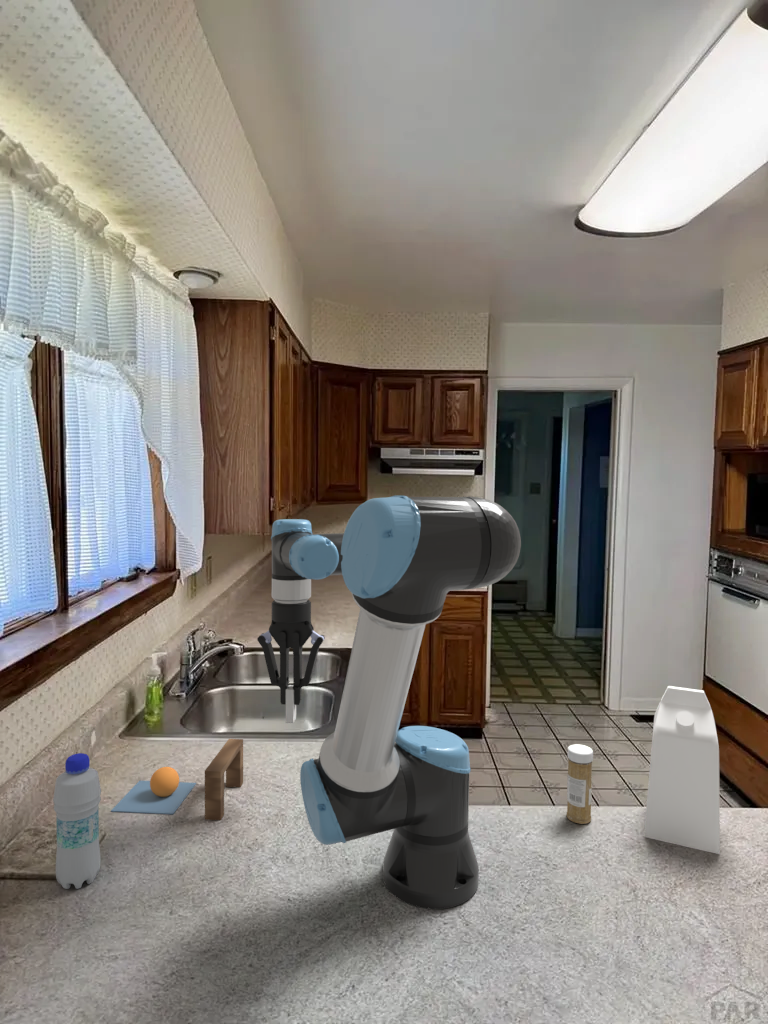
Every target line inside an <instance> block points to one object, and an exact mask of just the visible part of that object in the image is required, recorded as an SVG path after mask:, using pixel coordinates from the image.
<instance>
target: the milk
mask: <svg viewBox="0 0 768 1024" xmlns="http://www.w3.org/2000/svg"><path fill="white" fill-rule="evenodd" d="M660 699H661V700H660V701H659V703H658V706H657V708H656V710H655V712H654V716H653V727H652V738H651V750H650V761H649V770H648V771H649V774H648V785H647V786H648V787H647V795H646V807H645V808H646V809H645V820H644V821H645V822H644V832H643V833H644V834H643V838H647V839H651V840H655V841H661V842H665V843H668V844H674V845H678V846H682V847H687V848H690V849H695V850H700V851H703V852H708V853H713V854H717V855H721V838H720V837H721V836H720V835H721V832H720V831H721V829H720V828H721V823H720V821H721V819H720V818H721V816H720V815H721V814H720V748H719V747H720V746H719V738H718V734H717V733H718V732H717V726H716V721H715V717H714V712H713V710H712V707H711V704H710V702H709V700H708V697H707V695H706V692H705V690H704V689H703V690H702V689H696V688H695V689H694V688H690V687H688V688H687V687H680V686H673V685H668V686H667V687H666V689H665V691H664V692H663V694H662V697H661V698H660Z"/></svg>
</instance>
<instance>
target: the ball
mask: <svg viewBox="0 0 768 1024" xmlns="http://www.w3.org/2000/svg"><path fill="white" fill-rule="evenodd" d="M149 781H150V788H151V790H152V792H153V793H154V794H155V795H157V796H160V797H166V796H169V795H171V794H172V793H173V792H174V791H175V790H176V789H177V787H178V785H179V782H180V776H179V773H178V771H177V770H176V769H175V768H173V767H171V766H163V767H160V768H158V769H156V770H155V771H154V772H153V773H152V775H151V778H150V780H149Z"/></svg>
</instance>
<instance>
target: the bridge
mask: <svg viewBox="0 0 768 1024" xmlns="http://www.w3.org/2000/svg"><path fill="white" fill-rule="evenodd" d="M243 784H244V739H241V738H228V739H227V741H225V743H224V744H223V746H222V747H221V748H220V750H219V752H218V753H217V754H216V755H215V757H214V758H213V759H212V760H211V762H210V763H209V764H208V766H207V767H206V768H205V770H204V820H205V821H207V820H208V821H209V820H210V821H221V820H222V819H223V817H224V816H225V787H226V788H241V787H242V785H243Z"/></svg>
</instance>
